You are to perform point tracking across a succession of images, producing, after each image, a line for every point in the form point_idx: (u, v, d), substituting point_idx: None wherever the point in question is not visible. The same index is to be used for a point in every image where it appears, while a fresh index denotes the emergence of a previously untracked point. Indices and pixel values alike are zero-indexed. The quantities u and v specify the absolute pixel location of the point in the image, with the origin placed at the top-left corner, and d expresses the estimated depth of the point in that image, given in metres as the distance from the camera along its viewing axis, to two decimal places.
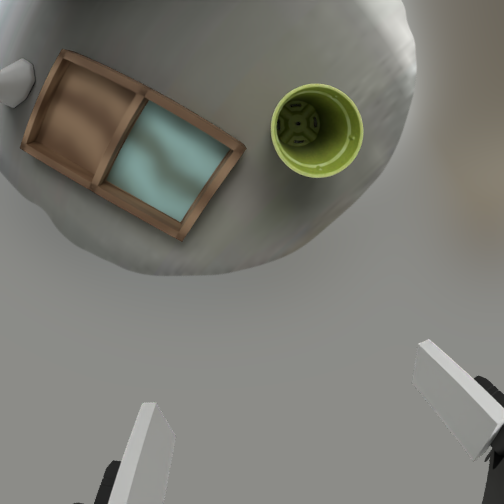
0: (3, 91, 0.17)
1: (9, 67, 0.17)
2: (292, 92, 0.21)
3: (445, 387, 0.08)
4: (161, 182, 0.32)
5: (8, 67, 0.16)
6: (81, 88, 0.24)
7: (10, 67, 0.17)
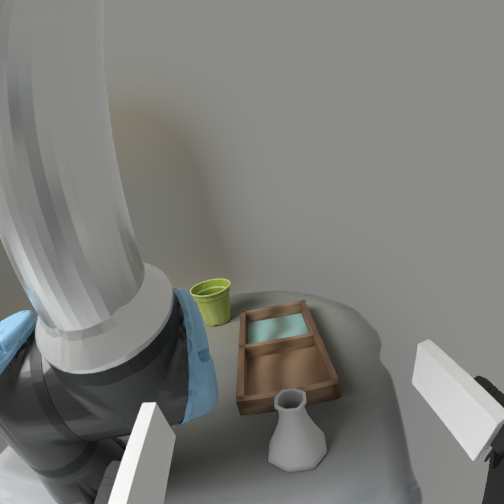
0: None
1: (274, 439, 0.24)
2: (201, 295, 0.56)
3: (445, 387, 0.08)
4: (288, 327, 0.53)
5: (274, 440, 0.24)
6: (265, 386, 0.38)
7: (274, 440, 0.25)
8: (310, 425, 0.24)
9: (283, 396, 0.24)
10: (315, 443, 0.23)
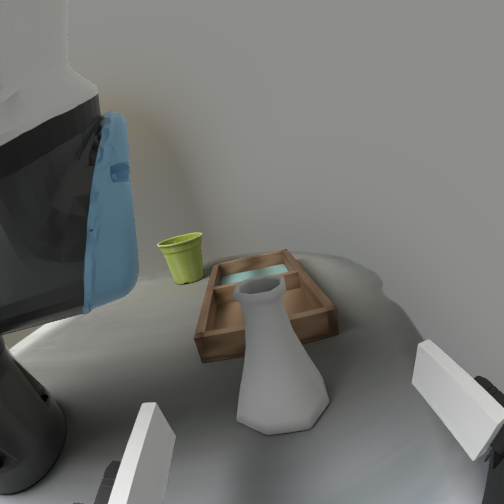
0: None
1: (242, 377, 0.17)
2: (168, 244, 0.49)
3: (445, 387, 0.08)
4: None
5: (242, 376, 0.17)
6: None
7: None
8: (297, 344, 0.17)
9: (250, 289, 0.17)
10: (309, 381, 0.16)
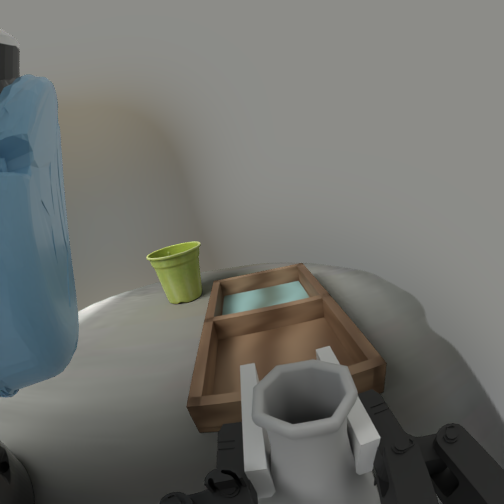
0: None
1: None
2: (159, 257, 0.40)
3: None
4: (281, 297, 0.37)
5: None
6: None
7: None
8: None
9: (280, 386, 0.08)
10: (363, 495, 0.07)
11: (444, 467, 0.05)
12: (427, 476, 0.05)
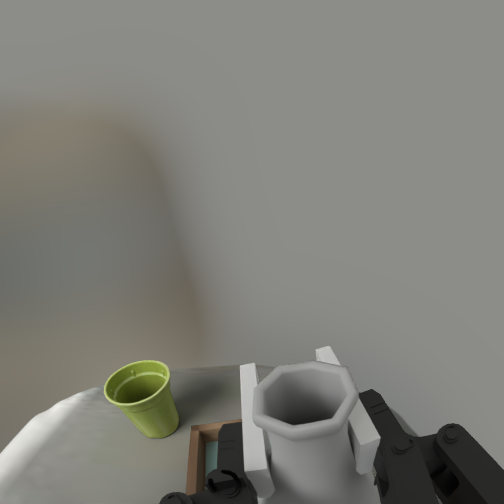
0: None
1: None
2: (118, 403, 0.25)
3: None
4: None
5: None
6: None
7: None
8: None
9: (281, 387, 0.08)
10: (363, 496, 0.07)
11: (444, 467, 0.05)
12: (427, 476, 0.05)
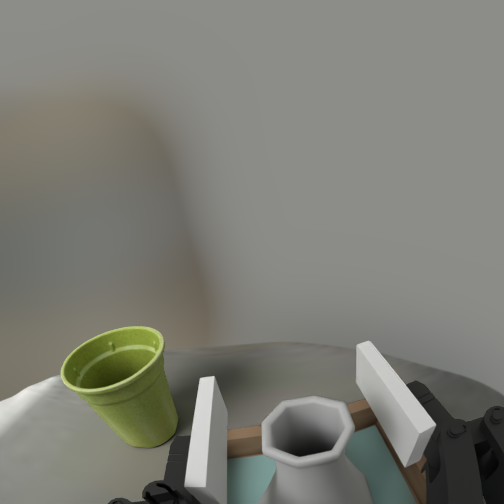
0: None
1: None
2: (74, 387, 0.14)
3: (377, 389, 0.10)
4: None
5: None
6: None
7: None
8: (352, 476, 0.08)
9: (285, 419, 0.09)
10: None
11: (486, 450, 0.05)
12: (475, 462, 0.04)
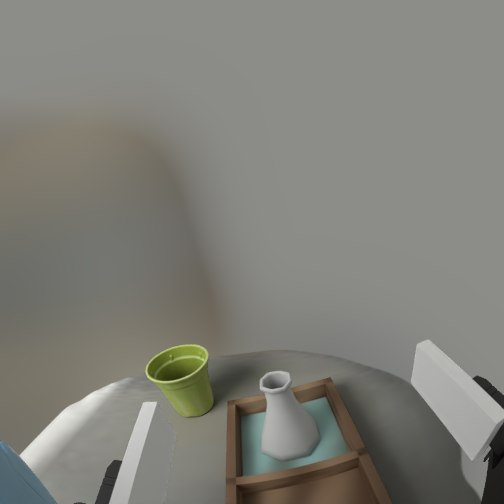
0: None
1: (264, 427, 0.25)
2: (161, 381, 0.30)
3: (443, 387, 0.08)
4: None
5: (264, 427, 0.25)
6: None
7: (265, 428, 0.25)
8: (299, 408, 0.24)
9: (268, 379, 0.25)
10: (307, 428, 0.24)
11: None
12: None
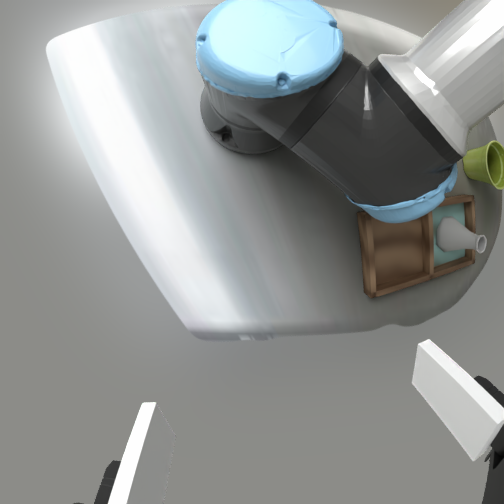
0: None
1: (457, 224, 0.39)
2: (486, 158, 0.32)
3: (445, 387, 0.08)
4: None
5: (457, 225, 0.39)
6: (385, 231, 0.42)
7: (457, 224, 0.39)
8: (464, 248, 0.38)
9: (483, 238, 0.33)
10: (452, 248, 0.40)
11: None
12: None
